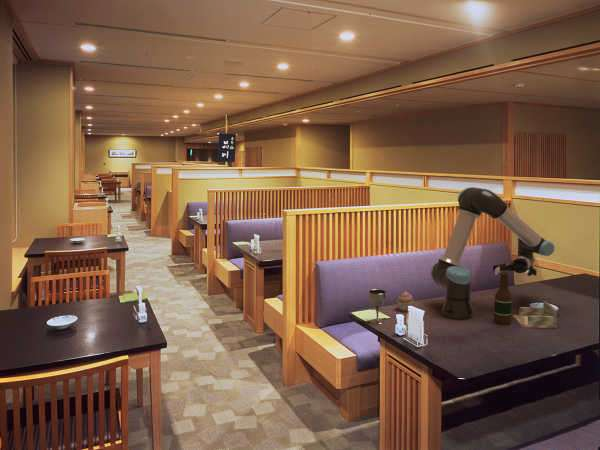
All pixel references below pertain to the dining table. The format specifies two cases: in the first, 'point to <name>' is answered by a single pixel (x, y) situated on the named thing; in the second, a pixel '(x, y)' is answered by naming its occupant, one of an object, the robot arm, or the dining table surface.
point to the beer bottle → (503, 302)
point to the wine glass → (377, 302)
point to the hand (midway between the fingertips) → (510, 273)
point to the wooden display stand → (537, 316)
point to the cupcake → (405, 301)
